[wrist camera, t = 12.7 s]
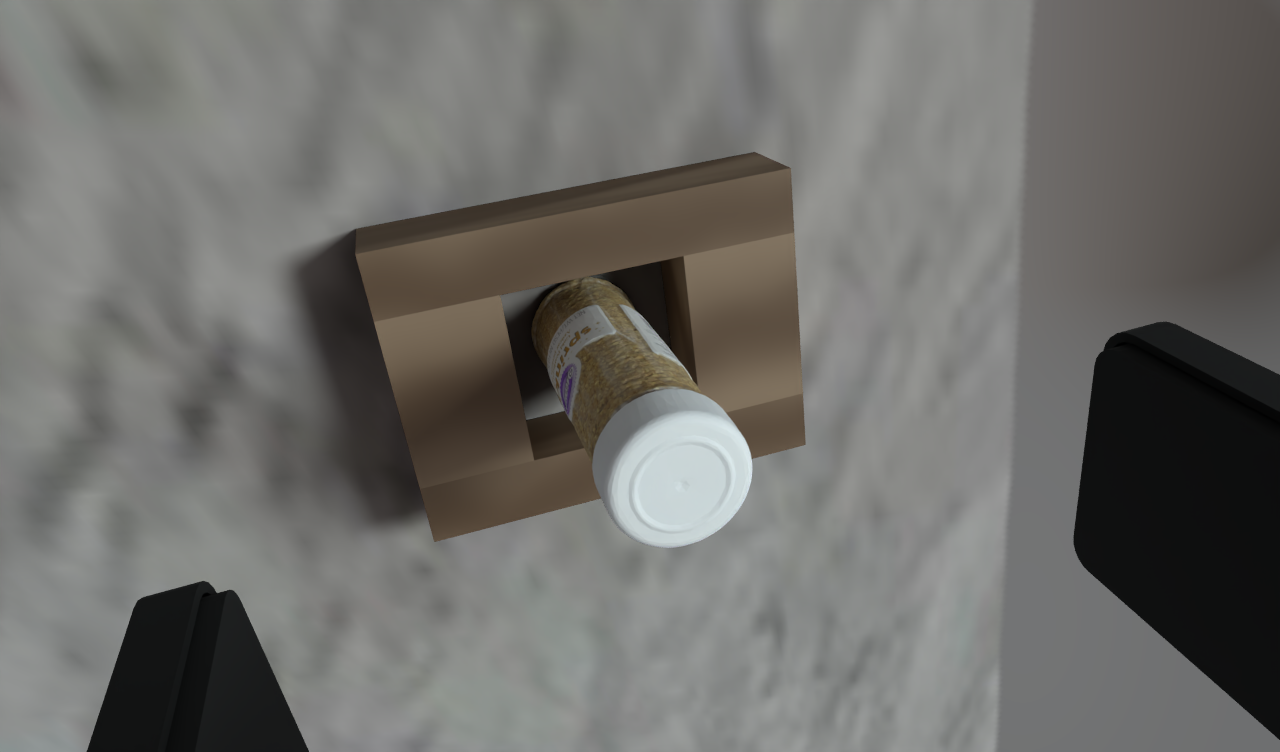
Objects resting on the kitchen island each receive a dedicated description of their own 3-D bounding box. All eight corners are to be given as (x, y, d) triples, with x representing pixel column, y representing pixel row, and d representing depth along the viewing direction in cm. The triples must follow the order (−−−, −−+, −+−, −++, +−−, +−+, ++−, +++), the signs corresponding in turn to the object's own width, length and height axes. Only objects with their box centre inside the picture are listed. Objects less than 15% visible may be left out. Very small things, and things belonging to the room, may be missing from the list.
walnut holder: (356, 228, 34) (355, 254, 31) (754, 152, 37) (790, 168, 34) (429, 497, 39) (434, 542, 36) (773, 410, 42) (805, 444, 39)
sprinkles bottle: (523, 283, 36) (598, 432, 24) (632, 266, 37) (755, 400, 25) (537, 386, 38) (613, 569, 26) (640, 367, 39) (759, 535, 27)
